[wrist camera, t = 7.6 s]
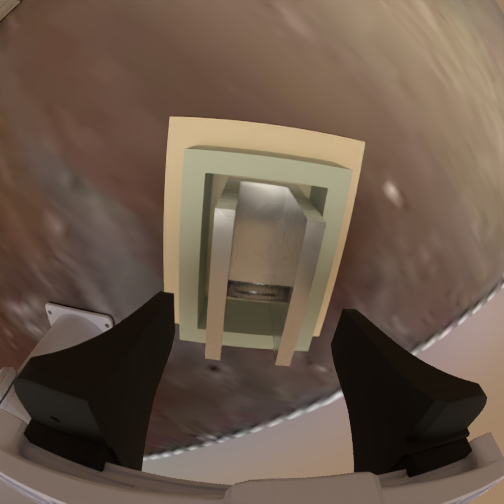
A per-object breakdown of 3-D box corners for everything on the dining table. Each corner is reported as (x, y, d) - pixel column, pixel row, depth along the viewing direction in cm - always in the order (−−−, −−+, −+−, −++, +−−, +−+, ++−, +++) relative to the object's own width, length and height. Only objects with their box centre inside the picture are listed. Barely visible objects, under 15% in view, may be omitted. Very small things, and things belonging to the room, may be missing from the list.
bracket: (278, 290, 22) (289, 365, 15) (218, 283, 22) (204, 358, 15) (297, 185, 19) (326, 222, 12) (229, 176, 19) (215, 208, 11)
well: (316, 329, 25) (328, 368, 20) (168, 315, 24) (153, 353, 20) (359, 141, 19) (390, 146, 14) (173, 117, 18) (150, 114, 13)
